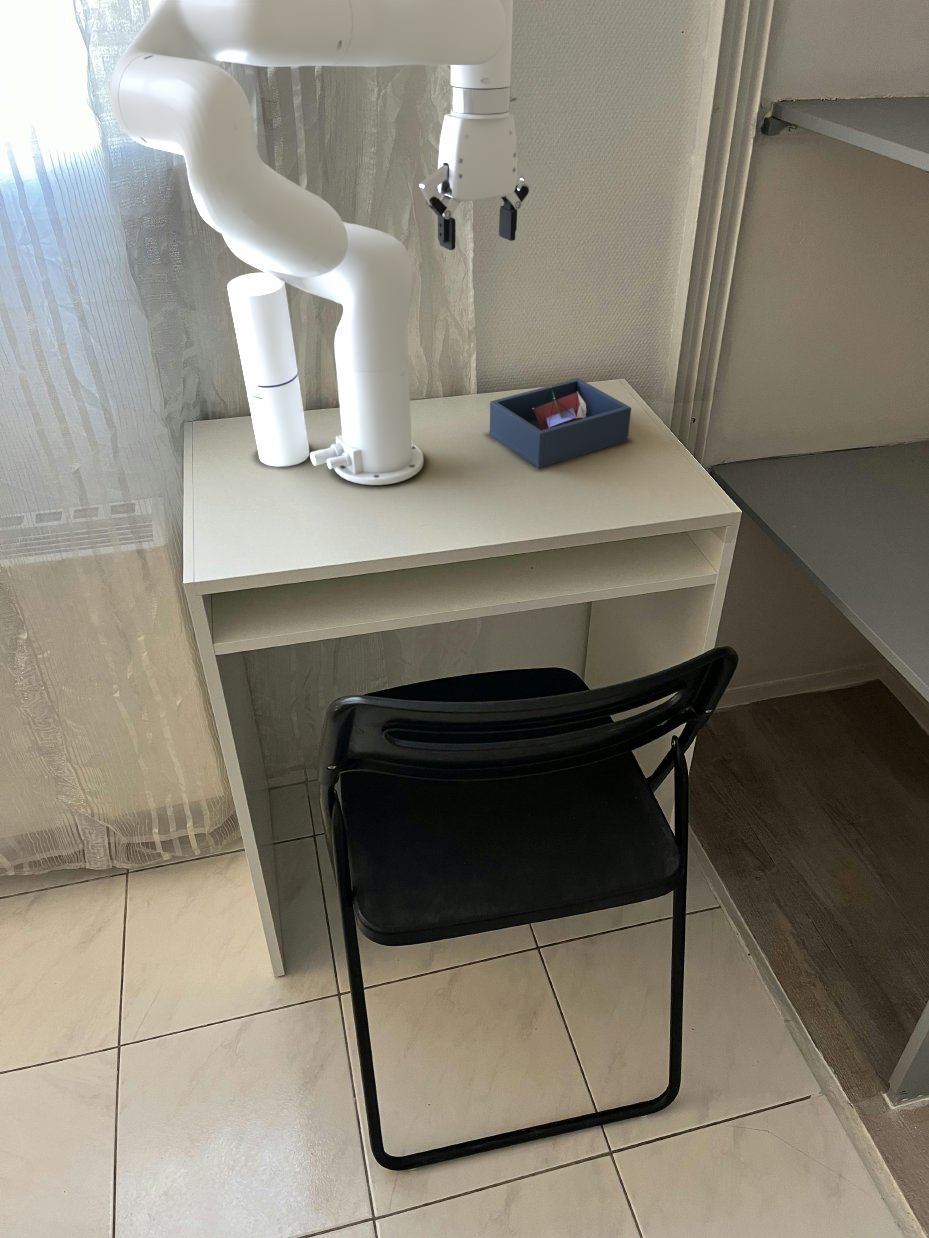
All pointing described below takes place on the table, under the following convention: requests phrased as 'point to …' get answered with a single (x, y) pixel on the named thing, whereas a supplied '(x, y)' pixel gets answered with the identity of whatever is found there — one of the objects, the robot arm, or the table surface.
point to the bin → (566, 441)
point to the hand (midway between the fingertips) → (477, 243)
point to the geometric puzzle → (560, 410)
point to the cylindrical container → (269, 367)
